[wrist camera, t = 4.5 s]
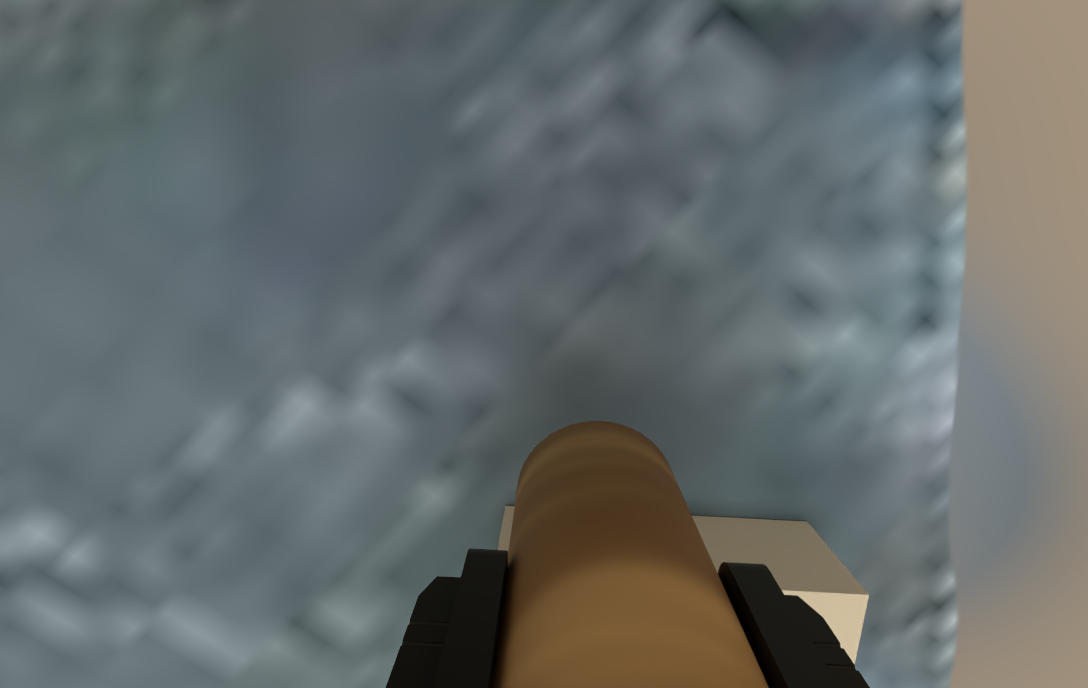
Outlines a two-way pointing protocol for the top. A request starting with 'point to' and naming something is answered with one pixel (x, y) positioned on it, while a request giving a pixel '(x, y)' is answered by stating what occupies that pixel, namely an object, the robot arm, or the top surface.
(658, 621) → the peg
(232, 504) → the top surface
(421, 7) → the top surface
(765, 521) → the socket block
